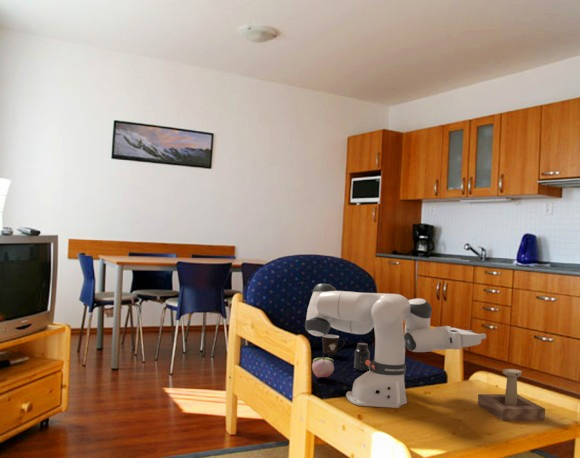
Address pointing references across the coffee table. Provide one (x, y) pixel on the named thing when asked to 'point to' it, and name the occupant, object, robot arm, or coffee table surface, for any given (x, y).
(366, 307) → the robot arm
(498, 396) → the collar
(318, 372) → the decorative fruit
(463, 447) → the coffee table surface
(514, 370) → the beige bolt
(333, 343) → the coffee mug
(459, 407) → the coffee table surface
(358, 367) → the supplement bottle
